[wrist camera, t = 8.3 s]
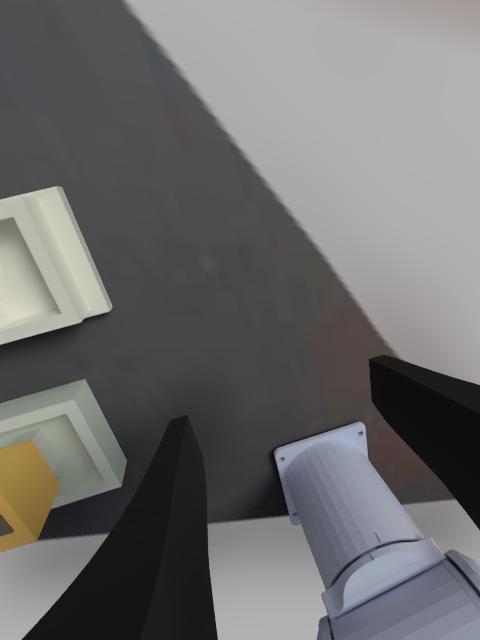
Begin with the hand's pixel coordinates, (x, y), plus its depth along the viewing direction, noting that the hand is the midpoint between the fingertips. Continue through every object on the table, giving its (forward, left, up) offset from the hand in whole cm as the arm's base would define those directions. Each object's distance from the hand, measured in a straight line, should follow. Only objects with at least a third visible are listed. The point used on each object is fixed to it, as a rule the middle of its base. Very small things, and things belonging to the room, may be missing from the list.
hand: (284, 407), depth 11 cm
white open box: (+6, +11, -10) cm, 16 cm away
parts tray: (-5, +16, -10) cm, 19 cm away
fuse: (-5, +16, -9) cm, 19 cm away
